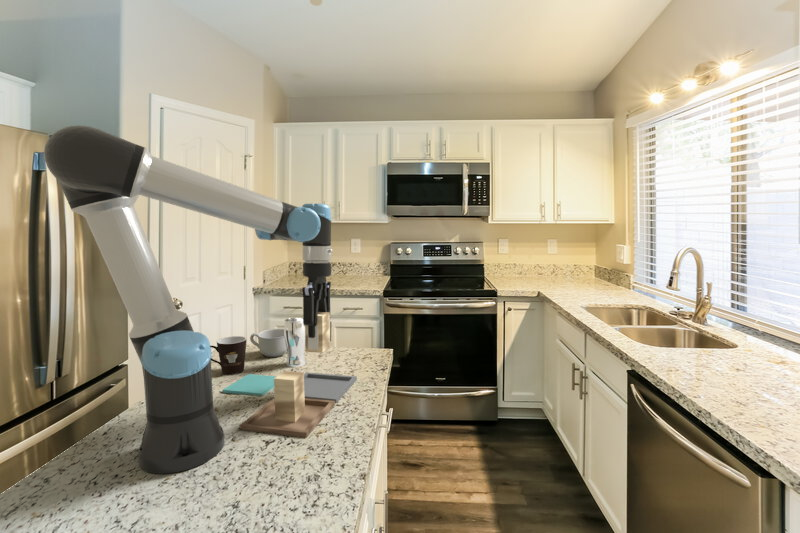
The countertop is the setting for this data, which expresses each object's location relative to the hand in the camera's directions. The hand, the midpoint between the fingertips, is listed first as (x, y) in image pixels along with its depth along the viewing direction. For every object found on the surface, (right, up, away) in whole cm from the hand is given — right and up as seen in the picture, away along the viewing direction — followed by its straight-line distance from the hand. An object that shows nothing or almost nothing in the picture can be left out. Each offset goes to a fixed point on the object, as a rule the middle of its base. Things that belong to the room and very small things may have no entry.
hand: (317, 345), depth 110 cm
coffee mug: (-31, -11, +16) cm, 37 cm away
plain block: (-3, -14, -15) cm, 21 cm away
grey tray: (0, -12, +1) cm, 12 cm away
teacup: (-23, -10, +32) cm, 41 cm away
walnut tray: (-3, -14, -15) cm, 21 cm away
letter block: (0, -1, 0) cm, 1 cm away
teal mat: (-19, -12, +4) cm, 23 cm away
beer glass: (-12, -11, +21) cm, 27 cm away
